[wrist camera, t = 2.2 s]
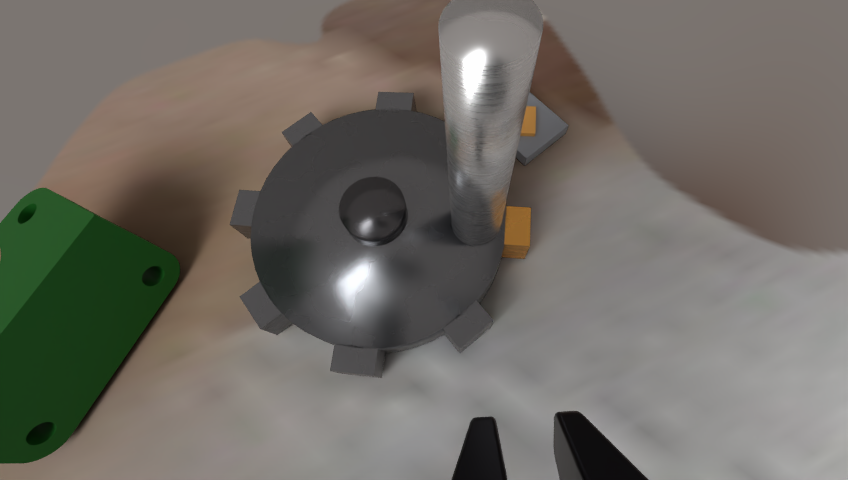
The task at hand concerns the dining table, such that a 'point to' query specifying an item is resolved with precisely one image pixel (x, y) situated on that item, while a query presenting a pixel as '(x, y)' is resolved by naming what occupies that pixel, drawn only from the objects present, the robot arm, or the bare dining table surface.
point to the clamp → (67, 315)
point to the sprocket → (400, 203)
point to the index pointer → (538, 130)
